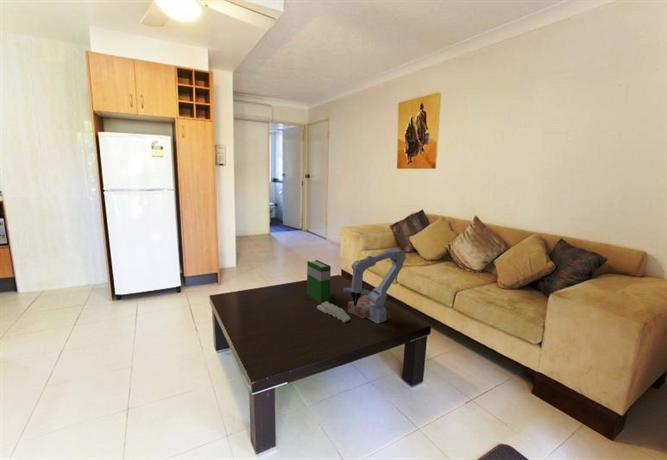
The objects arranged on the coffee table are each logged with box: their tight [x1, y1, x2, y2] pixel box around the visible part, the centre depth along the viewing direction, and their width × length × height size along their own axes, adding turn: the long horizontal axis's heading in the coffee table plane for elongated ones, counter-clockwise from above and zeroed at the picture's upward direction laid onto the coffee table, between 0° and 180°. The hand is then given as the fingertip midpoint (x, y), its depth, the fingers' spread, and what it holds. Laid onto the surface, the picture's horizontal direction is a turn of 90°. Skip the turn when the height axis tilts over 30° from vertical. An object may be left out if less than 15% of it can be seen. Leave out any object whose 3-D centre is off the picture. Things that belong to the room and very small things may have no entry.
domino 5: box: [335, 307, 351, 323], centre depth 185 cm, size 2×5×9 cm
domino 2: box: [320, 301, 332, 316], centre depth 193 cm, size 2×5×9 cm
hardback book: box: [306, 259, 332, 304], centre depth 214 cm, size 18×7×24 cm, turn 35°
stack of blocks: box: [347, 294, 370, 319], centre depth 198 cm, size 21×6×12 cm
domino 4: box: [330, 305, 341, 321], centre depth 188 cm, size 2×5×9 cm
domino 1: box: [316, 304, 328, 314], centre depth 197 cm, size 2×5×9 cm
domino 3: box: [326, 303, 337, 318], centre depth 191 cm, size 2×5×9 cm
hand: (355, 305), depth 180 cm, fingers closed
